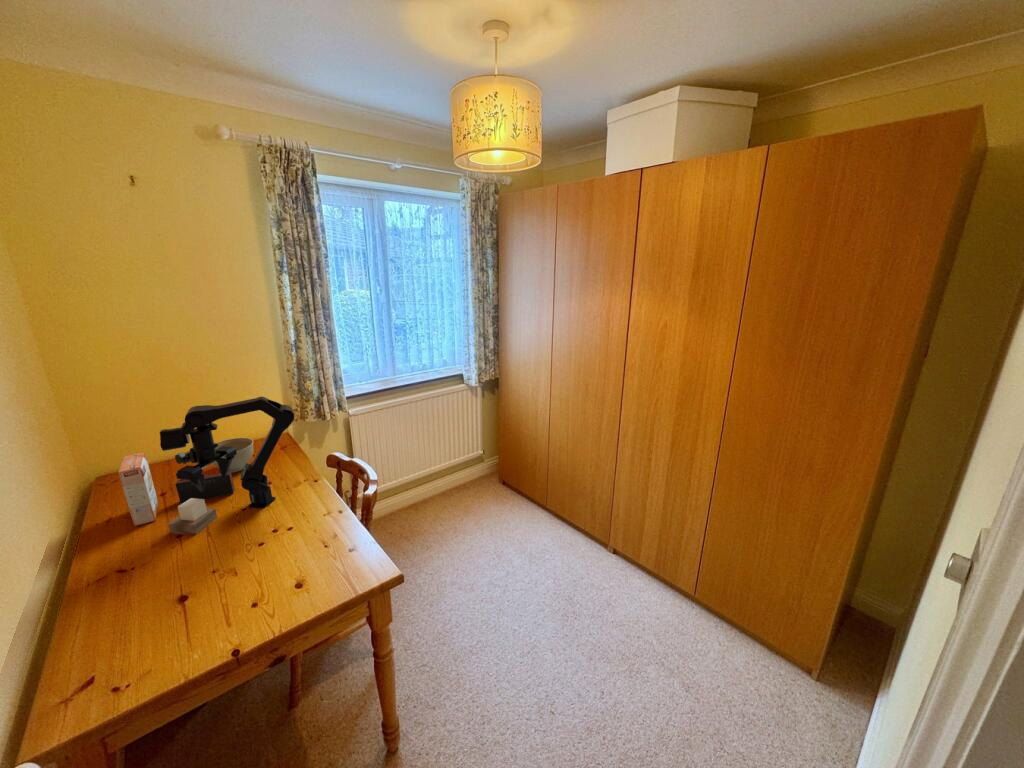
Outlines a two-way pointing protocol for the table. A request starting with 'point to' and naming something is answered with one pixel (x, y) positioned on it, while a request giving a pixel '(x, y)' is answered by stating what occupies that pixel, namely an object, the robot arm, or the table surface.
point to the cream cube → (192, 509)
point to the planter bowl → (238, 452)
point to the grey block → (192, 523)
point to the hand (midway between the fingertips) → (213, 484)
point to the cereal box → (138, 488)
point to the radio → (206, 487)
